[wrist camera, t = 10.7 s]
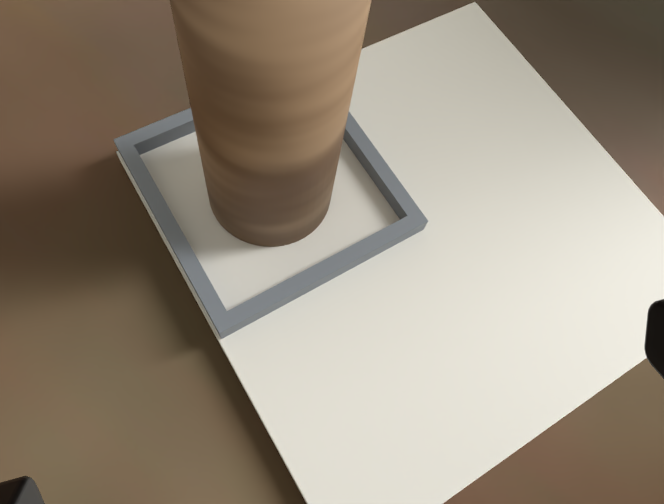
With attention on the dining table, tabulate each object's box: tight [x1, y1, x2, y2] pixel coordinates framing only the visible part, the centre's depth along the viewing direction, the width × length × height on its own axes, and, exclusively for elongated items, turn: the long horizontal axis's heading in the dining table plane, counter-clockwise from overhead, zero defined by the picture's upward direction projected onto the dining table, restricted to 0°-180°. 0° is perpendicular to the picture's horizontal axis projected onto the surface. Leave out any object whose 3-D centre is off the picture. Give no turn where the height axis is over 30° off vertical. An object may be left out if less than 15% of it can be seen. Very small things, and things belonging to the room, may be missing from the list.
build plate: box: [114, 2, 664, 504], centre depth 24 cm, size 18×19×2 cm
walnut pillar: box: [170, 0, 371, 247], centre depth 18 cm, size 5×5×12 cm
